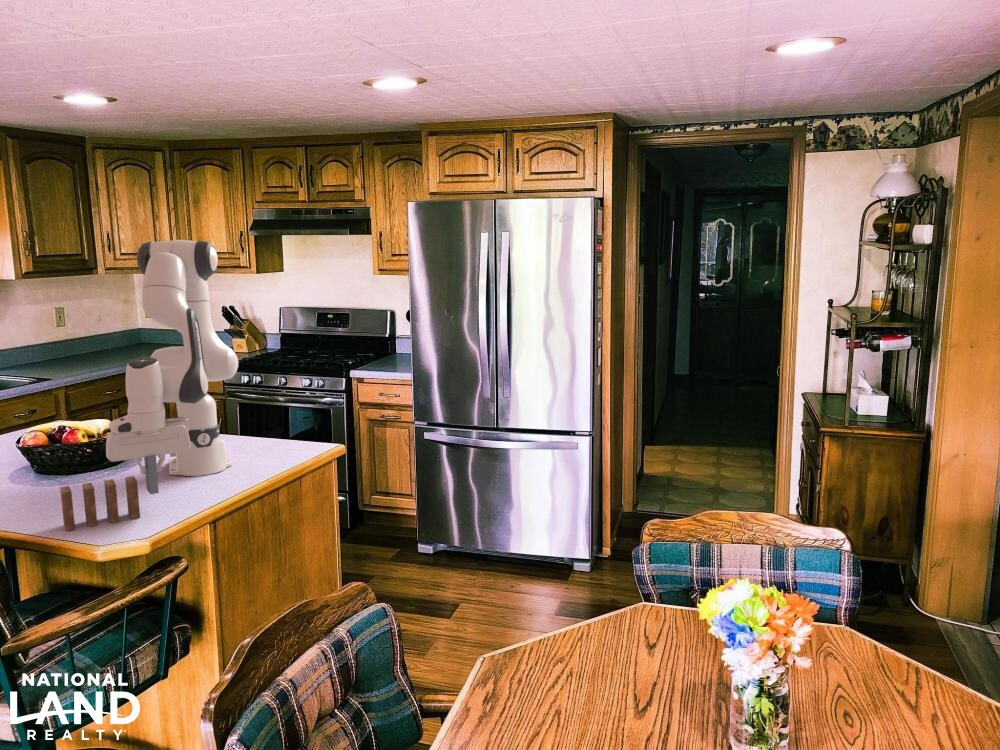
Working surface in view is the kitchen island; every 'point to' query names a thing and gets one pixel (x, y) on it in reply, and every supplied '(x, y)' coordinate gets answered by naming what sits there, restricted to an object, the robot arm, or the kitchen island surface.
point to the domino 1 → (67, 508)
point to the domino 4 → (132, 497)
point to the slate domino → (151, 474)
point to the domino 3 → (111, 501)
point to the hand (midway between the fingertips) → (151, 472)
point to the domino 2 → (90, 504)
